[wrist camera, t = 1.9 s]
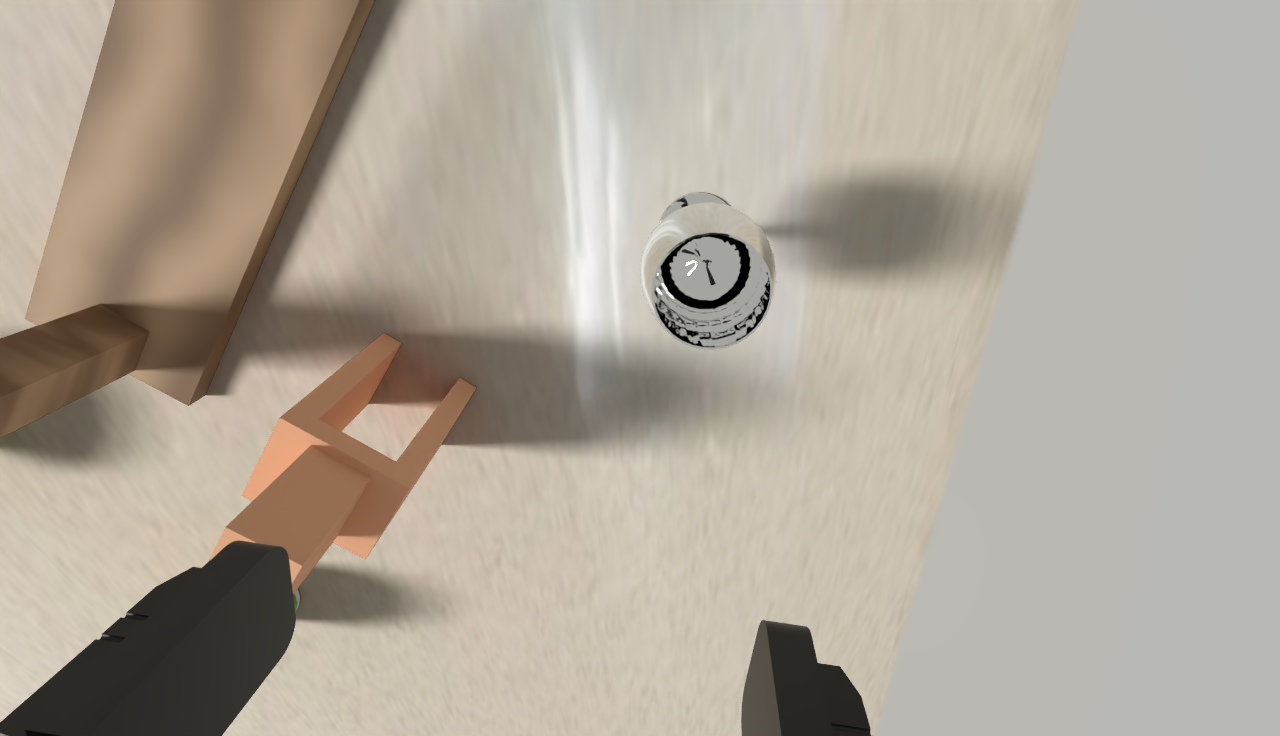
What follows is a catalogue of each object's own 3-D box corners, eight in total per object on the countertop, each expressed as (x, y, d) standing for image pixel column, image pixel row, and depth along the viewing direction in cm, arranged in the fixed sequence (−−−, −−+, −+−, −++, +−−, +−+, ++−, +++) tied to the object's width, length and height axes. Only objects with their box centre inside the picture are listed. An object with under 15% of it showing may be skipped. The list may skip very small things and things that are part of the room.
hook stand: (47, 310, 39) (-418, 467, 22) (191, -171, 29) (-438, -532, 13) (204, 395, 41) (-116, 598, 24) (388, -32, 31) (67, -186, 14)
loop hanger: (350, 394, 40) (144, 585, 24) (383, 333, 38) (184, 495, 23) (440, 445, 41) (299, 658, 25) (476, 387, 40) (349, 578, 24)
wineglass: (735, 166, 34) (769, 197, 23) (760, 267, 36) (801, 341, 25) (633, 197, 35) (617, 242, 24) (662, 295, 37) (660, 378, 26)
